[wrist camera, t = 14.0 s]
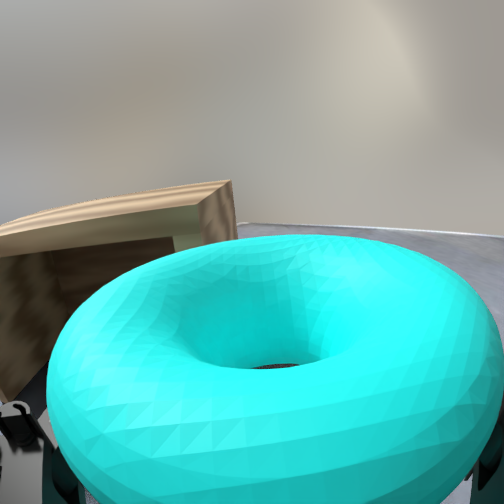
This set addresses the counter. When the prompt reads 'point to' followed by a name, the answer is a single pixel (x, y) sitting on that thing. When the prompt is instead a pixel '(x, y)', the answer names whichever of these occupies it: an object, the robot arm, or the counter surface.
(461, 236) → the counter surface
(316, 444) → the donuts
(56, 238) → the tunnel
